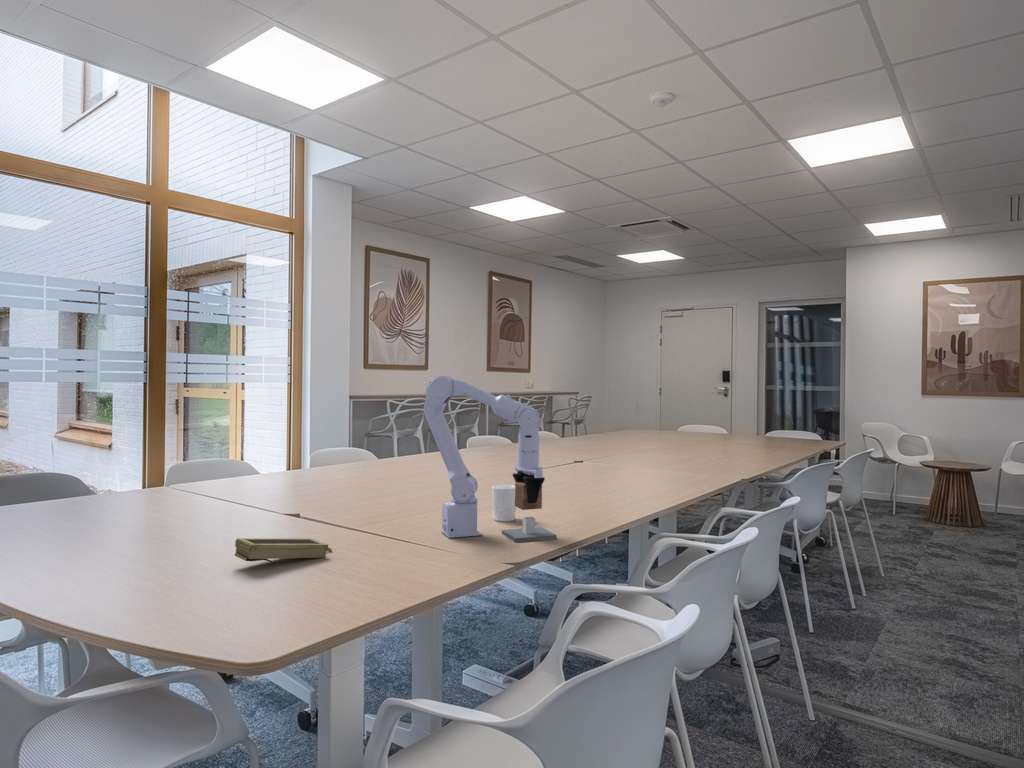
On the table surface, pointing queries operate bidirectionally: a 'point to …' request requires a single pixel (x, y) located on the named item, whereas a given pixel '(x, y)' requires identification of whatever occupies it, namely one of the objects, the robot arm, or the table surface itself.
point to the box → (279, 548)
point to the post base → (529, 537)
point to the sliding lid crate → (522, 498)
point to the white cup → (503, 502)
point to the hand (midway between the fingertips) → (527, 500)
